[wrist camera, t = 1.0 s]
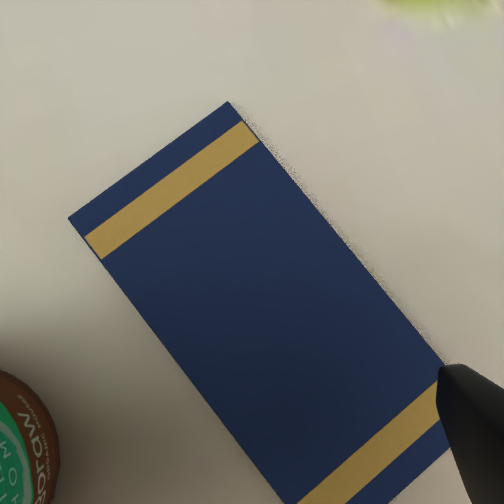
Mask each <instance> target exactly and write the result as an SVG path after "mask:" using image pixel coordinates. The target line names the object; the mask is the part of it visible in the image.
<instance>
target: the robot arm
mask: <svg viewBox="0 0 504 504" xmlns="http://www.w3.org/2000/svg"><path fill="white" fill-rule="evenodd" d="M436 407H437V411H438V415H439V417H440V420H441V423H442V426H443V428H444V431H445V434H446V437H447V439H448V442H449V445H450V448H451V450H452V453H453V456H454V459H455V461H456V464H457V467H458V470H459V472H460V475H461V478H462V481H463V483H464V486H465V488H466V491H467V494H468V496H469V498H470V500H471V502H472V504H504V389H503V388H501V387H500V386H498V385H497V384H495V383H493V382H492V381H490V380H488V379H487V378H485V377H484V376H482V375H480V374H479V373H477V372H476V371H474V370H472V369H471V368H469V367H468V366H466V365H463V364H452V365H443V366H441V367H440V368H439V371H438V378H437V390H436Z"/></svg>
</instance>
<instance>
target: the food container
mask: <svg viewBox="0 0 504 504" xmlns="http://www.w3.org/2000/svg"><path fill="white" fill-rule="evenodd" d="M59 468H60V453H59V441H58V435H57V432H56V429H55V425H54V422H53V420H52V418H51V416H50V414H49V412H48V410H47V408H46V406H45V405H44V404H43V402H42V401H41V400H40V398H39V397H38V395H37V394H35V393H34V392H33V391H32V390H31V389H30V388H29V387H28V386H27V385H26V384H25V383H23V382H22V381H20V380H19V379H17V378H16V377H14V376H12V375H10V374H8V373H6V372H3V371H1V370H0V504H50V503H51V501H52V500H53V498H54V493H55V488H56V483H57V478H58V473H59Z"/></svg>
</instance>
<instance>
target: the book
mask: <svg viewBox="0 0 504 504" xmlns="http://www.w3.org/2000/svg"><path fill="white" fill-rule="evenodd" d="M68 220H69V221H70V222H71V224H72V225H73V226H74V228H75V229H76V230H77V231H78V233H79V234H80V235H81V237H82V238H83V239H84V241H85V242H86V243H87V245H88V246H89V247H90V249H91V250H92V251H93V253H94V254H95V255H96V256H97V258H98V259H99V260H100V262H101V263H102V264H103V266H104V267H105V268H106V270H107V271H108V272H109V274H110V275H111V276H112V278H113V279H114V280H115V281H116V283H117V284H118V285H119V287H120V288H121V289H122V291H123V292H124V293H125V295H126V296H127V297H128V299H129V300H130V301H131V303H132V304H133V305H134V306H135V308H136V309H137V310H138V312H139V313H140V314H141V316H142V317H143V318H144V320H145V321H146V322H147V324H148V325H149V326H150V328H151V329H152V330H153V331H154V333H155V334H156V335H157V337H158V338H159V339H160V341H161V342H162V343H163V345H164V346H165V347H166V349H167V350H168V351H169V353H170V354H171V355H172V356H173V358H174V359H175V360H176V362H177V363H178V364H179V366H180V367H181V368H182V370H183V371H184V372H185V374H186V375H187V376H188V378H189V379H190V380H191V381H192V383H193V384H194V385H195V387H196V388H197V389H198V391H199V392H200V393H201V395H202V396H203V397H204V399H205V400H206V401H207V403H208V404H209V405H210V406H211V408H212V409H213V410H214V412H215V413H216V414H217V416H218V417H219V418H220V420H221V421H222V422H223V424H224V425H225V426H226V428H227V429H228V430H229V431H230V433H231V434H232V435H233V437H234V438H235V439H236V441H237V442H238V443H239V445H240V446H241V447H242V449H243V450H244V451H245V453H246V454H247V455H248V456H249V458H250V459H251V460H252V462H253V463H254V464H255V466H256V467H257V468H258V470H259V471H260V472H261V474H262V475H263V476H264V478H265V479H266V480H267V481H268V483H269V484H270V485H271V487H272V488H273V489H274V491H275V492H276V493H277V495H278V496H279V497H280V499H281V500H282V501H283V503H284V504H388V503H389V502H390V501H391V500H392V499H393V498H395V497H396V496H397V495H398V494H399V493H400V492H401V491H402V490H403V489H405V488H406V487H407V486H408V485H409V484H410V483H411V482H412V481H413V480H414V479H416V478H417V477H418V476H419V475H420V474H421V473H422V472H423V471H424V470H425V469H427V468H428V467H429V466H430V465H431V464H432V463H433V462H434V461H435V460H437V459H438V458H439V457H440V456H441V455H442V454H443V453H444V452H445V451H446V450H448V449H449V448H450V445H449V442H448V439H447V437H446V434H445V431H444V428H443V426H442V423H441V420H440V417H439V415H438V411H437V407H436V390H437V378H438V371H439V368H440V367H441V366H443V365H445V364H444V363H443V362H442V361H441V359H440V358H439V357H438V356H437V355H436V353H435V352H434V351H433V350H432V348H431V347H430V346H429V345H428V344H427V342H426V341H425V340H424V339H423V338H422V336H421V335H420V334H419V333H418V331H417V330H416V329H415V328H414V327H413V325H412V324H411V323H410V322H409V320H408V319H407V318H406V317H405V316H404V314H403V313H402V312H401V311H400V310H399V308H398V307H397V306H396V305H395V303H394V302H393V301H392V300H391V299H390V297H389V296H388V295H387V294H386V293H385V291H384V290H383V289H382V288H381V286H380V285H379V284H378V283H377V282H376V280H375V279H374V278H373V277H372V276H371V274H370V273H369V272H368V271H367V269H366V268H365V267H364V266H363V265H362V263H361V262H360V261H359V260H358V259H357V257H356V256H355V255H354V254H353V252H352V251H351V250H350V249H349V248H348V246H347V245H346V244H345V243H344V242H343V240H342V239H341V238H340V237H339V235H338V234H337V233H336V232H335V231H334V229H333V228H332V227H331V226H330V224H329V223H328V222H327V221H326V220H325V218H324V217H323V216H322V215H321V214H320V212H319V211H318V210H317V209H316V207H315V206H314V205H313V204H312V203H311V201H310V200H309V199H308V198H307V197H306V195H305V194H304V193H303V192H302V190H301V189H300V188H299V187H298V186H297V184H296V183H295V182H294V181H293V180H292V178H291V177H290V176H289V175H288V173H287V172H286V171H285V170H284V169H283V167H282V166H281V165H280V164H279V163H278V161H277V160H276V159H275V158H274V156H273V155H272V154H271V153H270V152H269V150H268V149H267V148H266V147H265V146H264V144H263V143H262V142H261V141H260V139H259V138H258V137H257V136H256V135H255V133H254V132H253V131H252V130H251V128H250V127H249V126H248V125H247V124H246V122H245V121H244V120H243V119H242V118H241V116H240V115H239V114H238V113H237V111H236V110H235V109H234V108H233V107H232V105H231V104H230V103H229V102H228V101H227V102H226V103H225V104H223V105H222V106H221V107H219V108H218V109H216V110H215V111H214V112H212V113H211V114H210V115H208V116H207V117H205V118H204V119H203V120H201V121H200V122H199V123H197V124H196V125H194V126H193V127H192V128H190V129H189V130H188V131H186V132H185V133H184V134H182V135H181V136H179V137H178V138H177V139H175V140H174V141H173V142H171V143H170V144H168V145H167V146H166V147H164V148H163V149H162V150H160V151H159V152H157V153H156V154H155V155H153V156H152V157H151V158H149V159H148V160H146V161H145V162H144V163H142V164H141V165H140V166H138V167H137V168H135V169H134V170H133V171H131V172H130V173H129V174H127V175H126V176H125V177H123V178H122V179H120V180H119V181H118V182H116V183H115V184H114V185H112V186H111V187H109V188H108V189H107V190H105V191H104V192H103V193H101V194H100V195H98V196H97V197H96V198H94V199H93V200H92V201H90V202H89V203H87V204H86V205H85V206H83V207H82V208H81V209H79V210H78V211H76V212H75V213H74V214H72V215H71V216H70V217H68Z"/></svg>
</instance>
